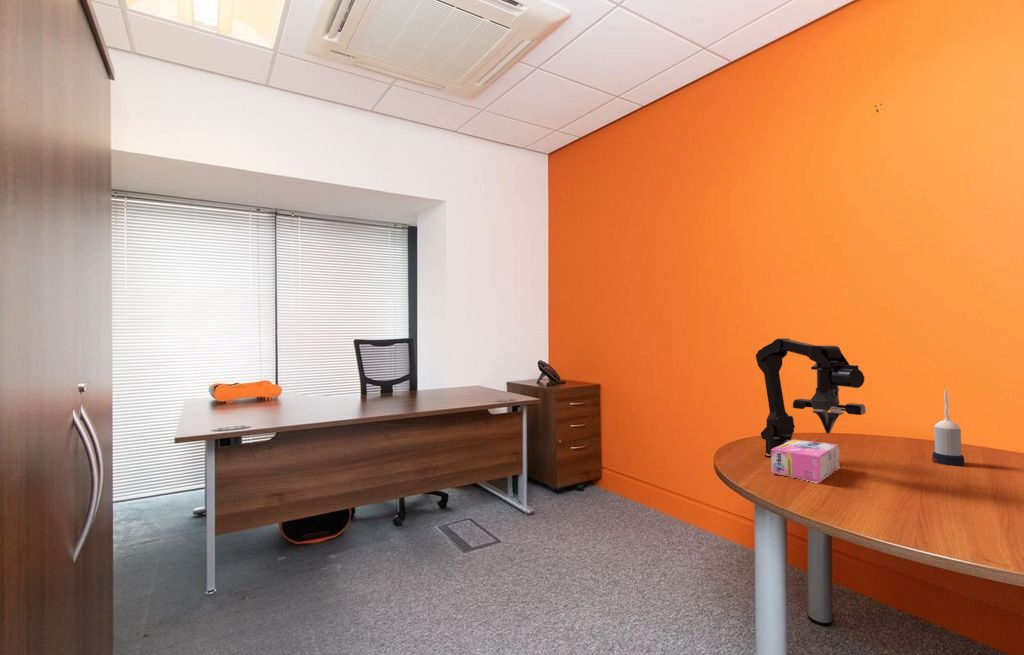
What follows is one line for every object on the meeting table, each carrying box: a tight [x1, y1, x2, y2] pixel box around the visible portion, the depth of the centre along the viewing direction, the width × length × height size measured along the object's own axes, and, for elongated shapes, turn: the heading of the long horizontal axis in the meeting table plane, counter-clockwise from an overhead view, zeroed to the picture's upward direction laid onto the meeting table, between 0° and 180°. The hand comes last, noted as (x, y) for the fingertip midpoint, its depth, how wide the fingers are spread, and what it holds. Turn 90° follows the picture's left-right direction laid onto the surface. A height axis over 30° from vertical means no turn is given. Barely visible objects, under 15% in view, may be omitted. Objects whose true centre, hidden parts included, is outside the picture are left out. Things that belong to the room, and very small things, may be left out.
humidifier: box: [931, 390, 965, 467], centre depth 162 cm, size 8×8×25 cm
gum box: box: [770, 439, 841, 483], centre depth 153 cm, size 24×8×14 cm
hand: (828, 433), depth 150 cm, fingers closed
